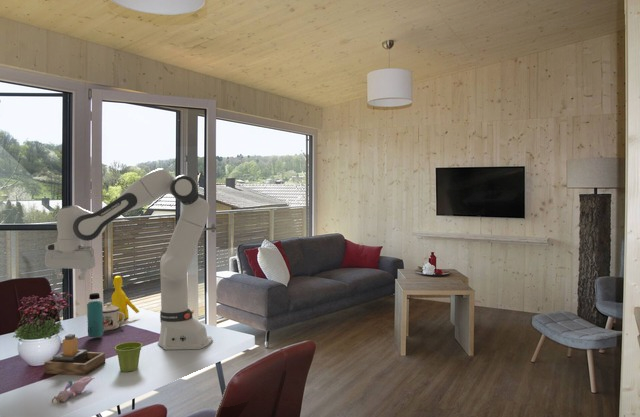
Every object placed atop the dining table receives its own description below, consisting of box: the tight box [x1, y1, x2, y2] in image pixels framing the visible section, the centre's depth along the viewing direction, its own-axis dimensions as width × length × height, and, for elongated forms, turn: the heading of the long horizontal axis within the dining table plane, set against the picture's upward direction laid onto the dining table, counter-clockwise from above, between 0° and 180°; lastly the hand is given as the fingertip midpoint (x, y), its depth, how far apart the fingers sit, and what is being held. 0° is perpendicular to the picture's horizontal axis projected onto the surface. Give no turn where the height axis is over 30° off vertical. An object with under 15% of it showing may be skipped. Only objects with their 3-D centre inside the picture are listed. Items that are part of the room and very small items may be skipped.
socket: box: [52, 348, 88, 363], centre depth 177 cm, size 8×8×4 cm
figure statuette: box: [110, 275, 140, 321], centre depth 241 cm, size 18×8×22 cm, turn 85°
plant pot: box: [114, 341, 143, 373], centre depth 176 cm, size 9×9×9 cm
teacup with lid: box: [102, 302, 125, 331], centre depth 226 cm, size 12×9×12 cm
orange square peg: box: [62, 333, 79, 356], centre depth 177 cm, size 4×4×11 cm
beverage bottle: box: [86, 292, 104, 338], centre depth 210 cm, size 6×7×20 cm
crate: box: [43, 351, 106, 377], centre depth 177 cm, size 16×12×4 cm
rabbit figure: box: [51, 376, 95, 405], centre depth 155 cm, size 6×6×15 cm
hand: (70, 279), depth 195 cm, fingers open, 8 cm apart
